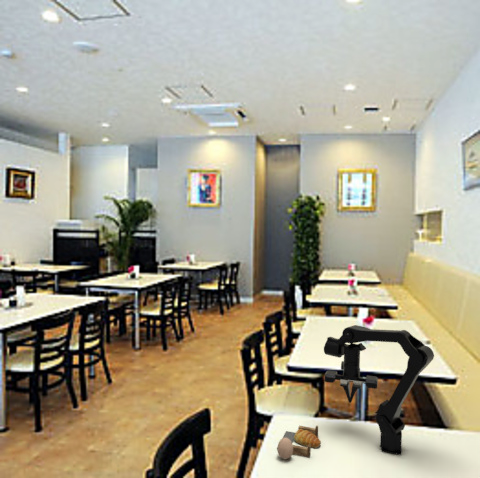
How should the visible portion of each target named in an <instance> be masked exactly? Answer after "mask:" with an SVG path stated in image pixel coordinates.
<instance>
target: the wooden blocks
mask: <svg viewBox="0 0 480 478" xmlns="http://www.w3.org/2000/svg"><path fill="white" fill-rule="evenodd" d="M299 429H303V430H304V431H305V430H308V431H309V432H312V434H314V435H316V437H318V438H319V425H315V427H310V426H309V427H308V426H303V425H299V426H298V428H297V431H298V430H299ZM292 445H293V453H292V455H294V456H299V457H303V458H310V457H311V451H312V450H311V449H312V448H311V445H309V444H308V447H306V446H303V445H297V444H296V445H295V444H292Z"/></svg>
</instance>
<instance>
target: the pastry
mask: <svg viewBox="0 0 480 478" xmlns="http://www.w3.org/2000/svg"><path fill="white" fill-rule="evenodd" d="M294 433H295V436H294V441H295V443H297V444H299V446H302V447H307V448H308V444H309V445H311V449H317V448H319V447H320V446H321V444H322V441H321V440H320V438H319V436H318V437H316V435H314V434H312V432H309V431H308V430H305V431H304V430H303V429H299V430H298V429H297V430H296V431H295V432H294Z"/></svg>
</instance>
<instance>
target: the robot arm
mask: <svg viewBox="0 0 480 478" xmlns="http://www.w3.org/2000/svg"><path fill="white" fill-rule="evenodd" d="M363 342H381V343H397V344H399V345H400V347H401V348H402V351H403V352H404V354H406V355H407V356H408V358H407V359H408V360H407V366H406V369H405V371H404V373H403V375H402V377H401V379H400V381H399V382H398V384H397V386H396V387H395V389H394V391H393V393H392V395H391V396H390V398H389V399H385V400H384V401H382V402H381V403H379V406H378V409H377V410H376V411H375V412H374V414H375V418H374V419H375V421H376V424H377V425H378V428H379V431H380V442H379V443H380V444H379V446H380V448H381V452H382V453H383V452H384V453H388V452H391V453H390V454H394V453H397V454H396V455H399V454H401V453H402V441H403V439H402V437H403V436H402V435H403V432H402V431H403V430H404V429H405V426H406V424H405V422H404V421H403V420H402V418H401V417H400V415H401V411H402V405H403V403H404V402H405V400H406V398H407V397H408V394H409V393H410V391H411V389H412V388H413V387H414V384H415V382H416V381H417V379H418V377H419V376H420V374H421V373H423V371H424V370H425V369H426V368H427V367H428V366H429V365H430V363H431V362H432V361H433V360H434V357H435V354H434V351H433V350H432V348H431V347H430V346H427V345H425V344H424V343H423V342H422V341H421V340H419V339H418V338H417V337H415V336H413V335H412V334H411V333H410V332H409V331H407V330H405V329H401V330H393V329H375V328H374V329H372V328H368V327H365V326H362V325H358V324H356V325H351V326H347V327H345V328H344V329H343V330H342V334H341V336H340V337H339V338H336V337H333V336H328V337H326V342H325V344H324V346H323V353H324V354H325V355H326V356H327V355H328V356H331V357H335V358H339V359H340V358H341V357H343V360H342V361H341V364H340V370H342V371H343V373H342V374H338V371H336V370H330V369H329V370H327V371H326V372H325V374H324V382H325V383H332V384H333V383H334V382H336V381H340V383H339V386H340V387H342V388H343V390H344V392H345V395H346V398H347V401H348V403H352V401H353V399H354V397H355V394H356V392H357V390H358V389H362V384H363V385H364V384H365V387H367V388H369V389H375V390H377V389H378V385H379V383H378V382H379V378H378V377H377V376H375V375H374V376H373V375H368V374H367V375H366V377H360V376H361V363H360V362H361V352H363V351H365V350H367V347H366V346H365V345H364V344H363ZM350 382H351V383H352V387H350V385H351V384H350ZM401 455H402V454H401Z"/></svg>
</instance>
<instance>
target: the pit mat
mask: <svg viewBox="0 0 480 478" xmlns="http://www.w3.org/2000/svg"><path fill="white" fill-rule="evenodd" d="M295 433H296V432H293V431H288V430H287V431H285V433H284V434H283V436H282V438H288V439H290V441H291V442H292V444H293V443H294V441H295V440H294V436H295Z"/></svg>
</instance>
